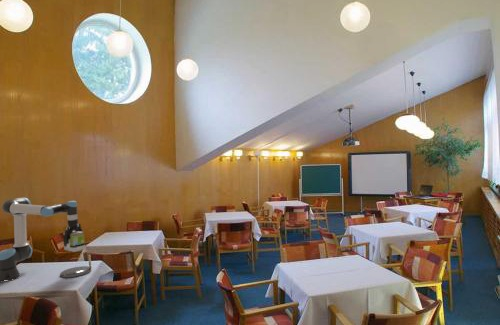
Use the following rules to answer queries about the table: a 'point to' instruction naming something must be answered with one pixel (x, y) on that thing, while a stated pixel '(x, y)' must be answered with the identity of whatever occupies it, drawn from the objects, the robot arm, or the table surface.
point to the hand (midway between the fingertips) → (74, 245)
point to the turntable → (76, 271)
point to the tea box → (75, 241)
